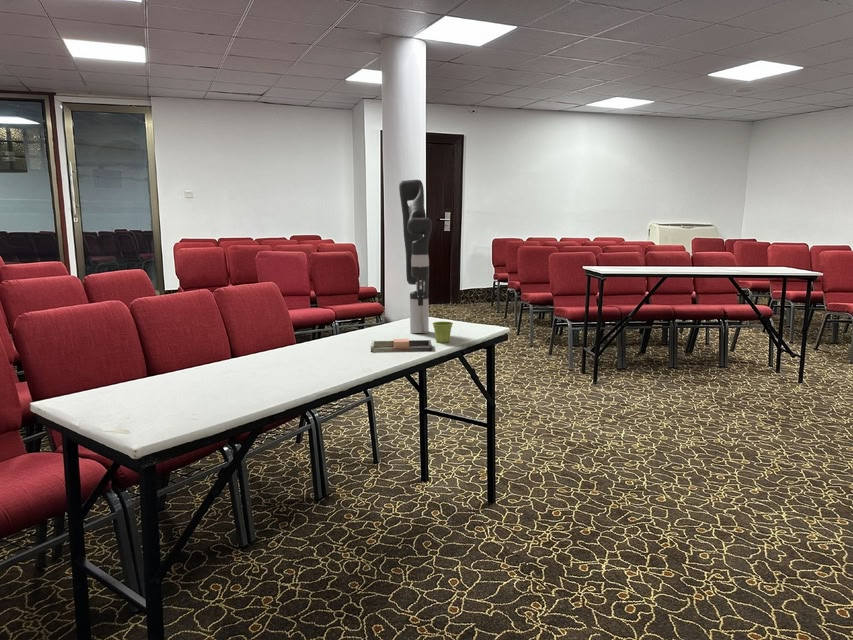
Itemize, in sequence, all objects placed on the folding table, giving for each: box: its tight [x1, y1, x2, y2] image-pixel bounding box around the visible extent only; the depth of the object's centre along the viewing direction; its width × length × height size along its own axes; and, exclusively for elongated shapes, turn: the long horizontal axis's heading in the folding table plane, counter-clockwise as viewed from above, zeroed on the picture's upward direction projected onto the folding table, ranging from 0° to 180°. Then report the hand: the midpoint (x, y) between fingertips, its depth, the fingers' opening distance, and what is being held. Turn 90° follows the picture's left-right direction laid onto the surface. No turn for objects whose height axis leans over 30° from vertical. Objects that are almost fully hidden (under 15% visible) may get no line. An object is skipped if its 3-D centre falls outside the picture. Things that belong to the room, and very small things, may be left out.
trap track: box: [370, 339, 433, 353], centre depth 254 cm, size 11×26×2 cm, turn 92°
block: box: [393, 338, 410, 348], centre depth 254 cm, size 6×6×4 cm
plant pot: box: [431, 321, 454, 344], centre depth 268 cm, size 9×9×9 cm
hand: (420, 305), depth 252 cm, fingers closed
